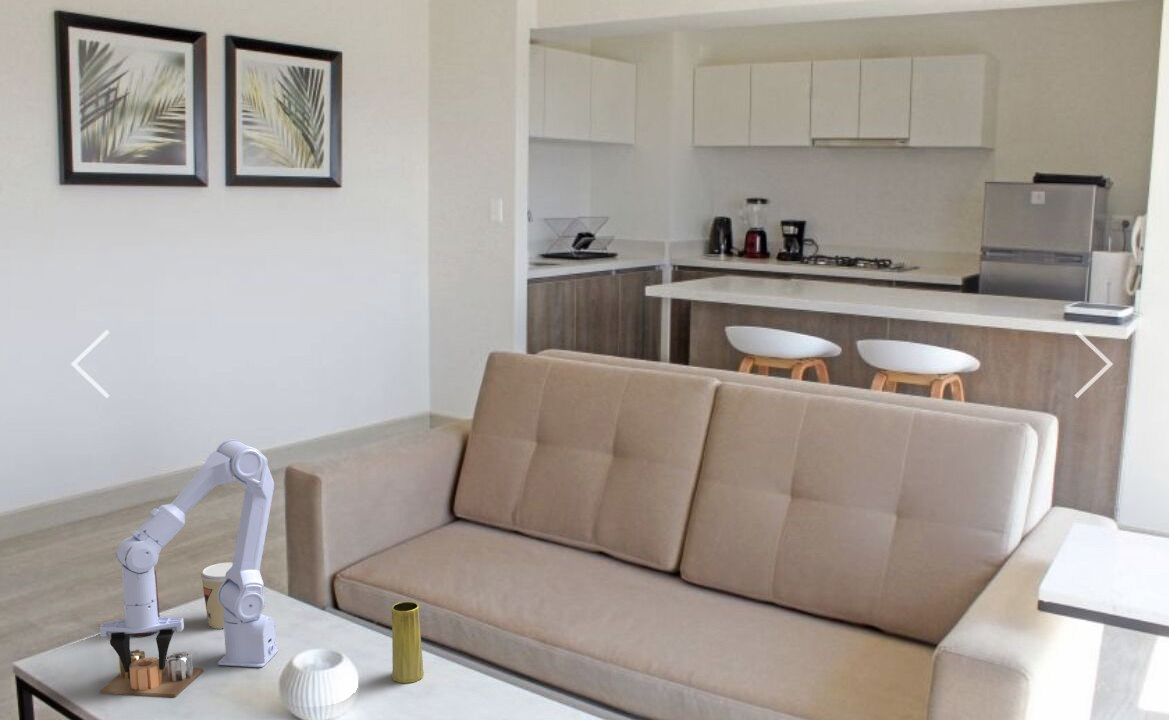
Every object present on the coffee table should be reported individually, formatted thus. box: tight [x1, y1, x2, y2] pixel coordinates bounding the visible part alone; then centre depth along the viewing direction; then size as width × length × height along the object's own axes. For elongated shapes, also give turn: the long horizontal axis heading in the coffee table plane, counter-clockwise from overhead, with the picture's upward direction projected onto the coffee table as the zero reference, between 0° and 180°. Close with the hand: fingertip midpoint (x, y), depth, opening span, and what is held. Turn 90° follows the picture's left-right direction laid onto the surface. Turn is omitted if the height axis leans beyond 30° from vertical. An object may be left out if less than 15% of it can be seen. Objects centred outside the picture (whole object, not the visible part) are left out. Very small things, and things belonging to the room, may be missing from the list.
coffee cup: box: [200, 561, 233, 630], centre depth 234 cm, size 9×9×12 cm
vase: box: [391, 600, 425, 684], centre depth 207 cm, size 6×6×14 cm
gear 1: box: [118, 649, 146, 679], centre depth 208 cm, size 5×5×4 cm
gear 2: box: [165, 650, 194, 682], centre depth 207 cm, size 5×5×4 cm
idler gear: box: [129, 656, 163, 690], centre depth 204 cm, size 5×5×4 cm
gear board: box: [99, 665, 205, 698], centre depth 206 cm, size 15×11×4 cm
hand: (145, 668), depth 204 cm, fingers open, 6 cm apart
